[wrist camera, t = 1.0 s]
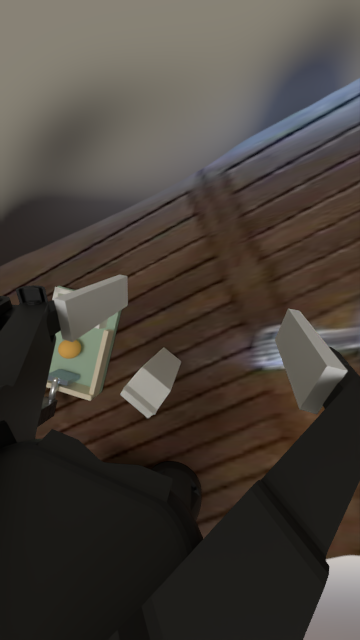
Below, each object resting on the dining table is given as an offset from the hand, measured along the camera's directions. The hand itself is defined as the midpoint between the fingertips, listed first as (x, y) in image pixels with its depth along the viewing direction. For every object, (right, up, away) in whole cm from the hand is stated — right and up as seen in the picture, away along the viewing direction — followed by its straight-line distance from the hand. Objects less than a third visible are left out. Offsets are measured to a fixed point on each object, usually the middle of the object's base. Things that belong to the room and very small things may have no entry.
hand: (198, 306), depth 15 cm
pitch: (-28, -6, +35) cm, 45 cm away
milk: (-5, -12, +33) cm, 36 cm away
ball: (-29, -8, +31) cm, 43 cm away
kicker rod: (-32, -19, +34) cm, 50 cm away
